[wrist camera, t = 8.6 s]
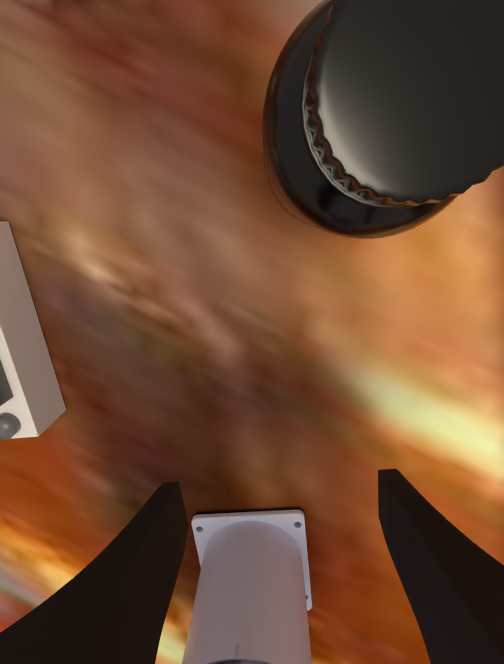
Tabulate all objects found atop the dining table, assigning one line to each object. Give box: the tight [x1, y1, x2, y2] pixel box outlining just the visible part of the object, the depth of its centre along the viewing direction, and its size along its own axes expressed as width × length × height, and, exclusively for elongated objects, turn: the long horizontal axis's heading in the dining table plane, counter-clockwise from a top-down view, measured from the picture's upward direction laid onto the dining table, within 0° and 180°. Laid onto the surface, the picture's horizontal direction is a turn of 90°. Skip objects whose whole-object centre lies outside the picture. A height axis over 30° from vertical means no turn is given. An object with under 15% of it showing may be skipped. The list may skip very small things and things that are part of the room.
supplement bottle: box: [263, 0, 504, 239], centre depth 13 cm, size 7×7×12 cm
